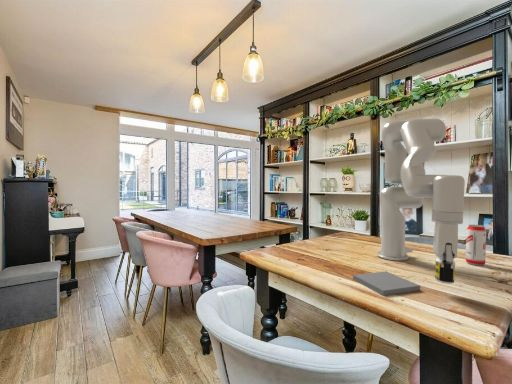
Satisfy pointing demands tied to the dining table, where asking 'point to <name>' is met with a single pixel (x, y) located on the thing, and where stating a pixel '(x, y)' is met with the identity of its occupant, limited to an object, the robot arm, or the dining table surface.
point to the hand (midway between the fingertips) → (444, 277)
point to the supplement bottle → (437, 270)
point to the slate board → (386, 283)
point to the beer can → (476, 245)
